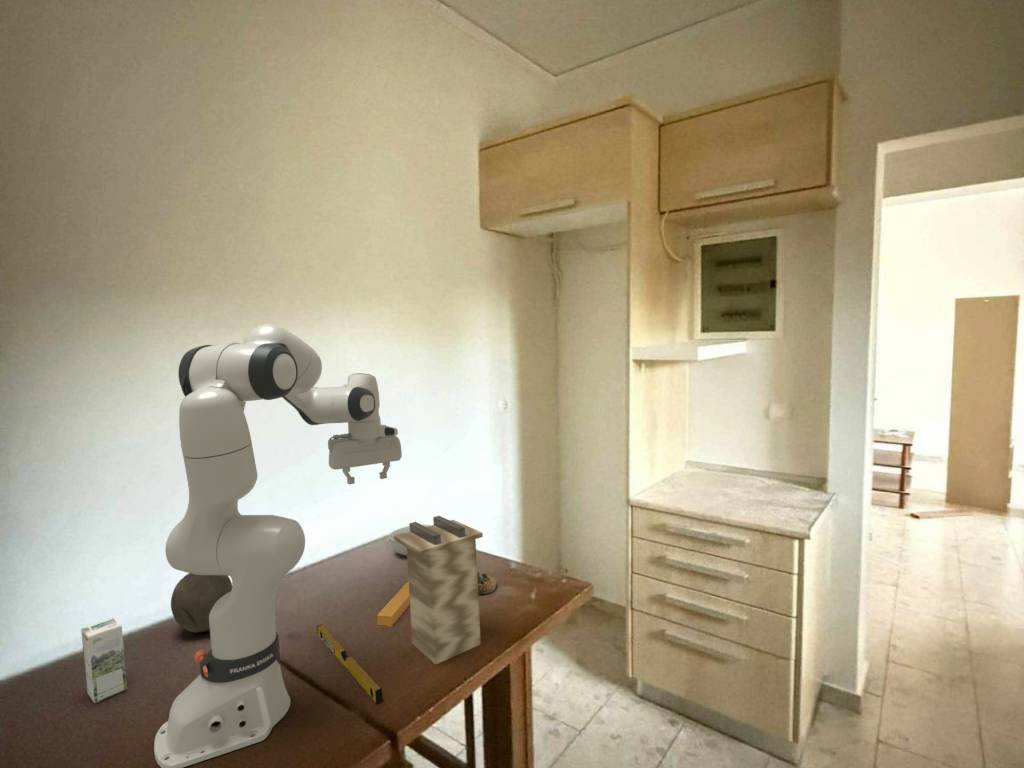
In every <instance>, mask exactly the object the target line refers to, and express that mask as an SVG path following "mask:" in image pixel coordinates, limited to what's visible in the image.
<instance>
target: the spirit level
mask: <svg viewBox="0 0 1024 768" xmlns="http://www.w3.org/2000/svg"><path fill="white" fill-rule="evenodd" d="M316 629H317V630H316V631H317V636H318V635H319V637H320V638H323V639H324V641H325V642H326V643H327V644H328V645H329V646H331V648H332V649H333V650H334V653H335V654H336V656H337V657H338V658H339V659H340V660H341V661H342V663H343V664H344V665H345V666H346V667H347V668H348V670H349V671H350V672H351V673H352V675H353V676H354V677H355V678H356V679H357V681H358V682H359V683H360V684H361V685H362V686H361V685H360V684H359V683H358V682H357V681H356V682H357V683H358V684H359V685H360V686H361V687H363V688H364V689H365V690H366V691H367V692H366V691H365V690H364V689H363V688H362V689H363V690H364V691H365V692H366V693H367V694H369V695H370V696H371V697H372V698H373V699H372V698H371V697H370V696H369V695H368V696H369V697H370V698H371V699H372V701H374V703H375V702H376V703H375V705H378V704H379V703H381V702H380V701H382V702H383V689H382V687H380V686H379V685H378V684H377V683H376V682H375V681H374V680H373V678H372V677H371V676H370V675H369V674H368V673H367V672H366V671H365V670H364V669H363V668H362V667H361V665H360V664H359V663H358V662H357V661H356V660H355V659H354V658H353V657H352V656H351V655H350V656H348V654H347V651H346V649H345V648H344V647H343V646H342V644H341V643H339V642H338V640H337V639H336V638H335V637H334V636H333V635H332V634H331V633H330V632H329V631H328V629H327V628H326V627H324V624H323V623H322V624H318V625H317V626H316ZM319 637H318V638H319ZM320 638H319V639H320ZM336 656H335V657H336ZM342 663H341V664H342ZM348 670H347V671H348ZM349 671H348V672H349ZM352 675H351V676H352ZM353 676H352V677H353ZM354 677H353V678H354ZM355 678H354V679H355ZM378 702H379V703H378Z"/></svg>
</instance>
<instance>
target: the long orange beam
mask: <svg viewBox="0 0 1024 768" xmlns="http://www.w3.org/2000/svg"><path fill="white" fill-rule="evenodd" d="M407 607H408V608H409V607H410V595H409V580H407V582H405V583H404V585H403V586H402V587H401V588H400V589H399V590H398V592H396V594H395V595H394V596H393V597H392V598H391V599H390V600H389V601H388V602H387V603H386V605H385V606H384V607H383V608H382V609H380V611H379V612H378V613H377V615H376V622H377V623H376V625H386V626H385V627H391V626H392V625H393V624H394V623H395V624H396V623H397V622H398V620H399V619H398V618H399V617H401V616H402V615H403V614H404V613H405V611H406V610H407V609H408V608H407ZM403 612H404V613H403ZM395 624H394V625H395ZM394 625H393V626H394ZM393 626H392V627H393Z"/></svg>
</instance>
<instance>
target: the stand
mask: <svg viewBox="0 0 1024 768" xmlns="http://www.w3.org/2000/svg"><path fill="white" fill-rule="evenodd" d="M432 520H433V525H432V526H429V527H425V526H423V525H424V524H421V523H420V522H417V521H413V522H409V525H408V526H410V532H406V533H403V534H399V535H395V536H394V540H395V541H397V542H399V543H400V544H402V545H404V546H405V547H407V556H406V558H407V560H406V561H407V574H408V577H407V578H408V581H409V595H410V605H409V609H410V625H411V641H412V643H411V644H412V645H413V646H414V645H415V646H414V647H416V649H418V651H420V653H422V654H423V655H424V656H425V657H426V658H427V659H429V661H431V662H432V663H433V664H434V665H435V666H436V665H438V664H441V663H444V662H445V661H447V660H449V659H451V658H453V657H456V656H458V655H460V654H463V653H465V652H466V651H469V650H471V649H473V648H475V647H478V646H480V645H481V644H482V641H481V638H482V637H481V623H480V621H481V620H480V603H479V602H480V601H479V595H478V578H477V572H478V563H477V560H478V559H477V544H476V543H477V542H476V540H478V539H480V538H484V535H483V532H481V531H480V530H478V529H475V528H472V527H470V526H468V525H466V524H464V523H461V522H459V521H456V520H455V519H447V518H445V517H443V516H441V515H436V516H433V518H432Z"/></svg>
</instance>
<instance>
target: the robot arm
mask: <svg viewBox="0 0 1024 768" xmlns="http://www.w3.org/2000/svg"><path fill="white" fill-rule="evenodd" d="M322 370H323V365H322V360H321V357H320V355H319V354H318V353H317V351H316V350H314V348H312V347H311V346H310V345H309V344H308V343H306V342H305V341H303V339H301V338H300V337H299V336H297V335H295V334H293V333H292V332H290V331H288V330H286V329H284V328H283V327H281V326H278V325H276V324H273V323H264V324H259V325H258V326H257V325H256V326H254V327H253V328H252V329H250V330H249V332H248V333H247V334H246V335H245V337H244V339H243V342H242V343H240V342H225V343H220V344H214V345H212V344H205V345H200V346H196V347H194V348H192V349H188V350H187V351H186V352H185V353H184V354H183V356H182V358H181V360H180V363H179V365H178V381H179V385H180V388H181V391H182V394H183V395H184V397H183V398H182V399H181V402H180V405H179V411H178V412H179V413H178V414H179V417H178V421H179V422H178V427H179V439H180V447H181V454H182V457H183V462H184V468H185V473H186V481H187V487H188V503H187V509H186V512H185V514H184V516H183V518H182V519H181V520H180V522H178V523H177V524H175V526H174V527H173V528H172V530H171V532H170V533H169V535H168V536H167V539H166V542H165V556H166V560H167V562H168V564H169V565H170V567H171V568H173V569H174V570H177V571H180V572H184V573H187V574H189V573H191V574H196V575H228V577H229V578H230V580H231V583H232V590H231V591H230V592H228V593H227V594H225V595H224V596H222V597H221V598H220V599H219V600H218V601H217V602H216V603H215V604H214V606H213V607H212V609H211V611H210V614H209V626H210V631H209V635H210V636H209V637H210V648H211V649H210V650H209V651H208V652H207V651H206V650H205V649H200V650H197V651H196V652H195V654H194V660H195V661H194V662H195V663H196V665H199V673H200V674H199V675H198V676H196V677H195V679H194V680H193V681H192V682H191V683H190V684H188V686H187V687H186V688H185V689H183V690H182V691H181V692H180V693H179V694H178V695H177V696H176V697H175V699H174V701H173V702H172V703H171V706H170V710H169V714H168V715H169V716H168V719H167V721H165V722H164V723H163V724H162V725H161V726H160V728H159V729H158V731H157V732H156V734H155V737H154V742H153V743H154V745H153V753H154V758H155V761H156V763H157V765H158V766H159V767H160V768H185V767H188V766H191V765H195V764H198V763H201V762H203V761H206V760H207V761H208V760H210V759H212V758H215V757H218V756H221V755H224V754H227V753H231V752H233V751H236V750H239V749H243V748H245V747H248V746H251V745H253V744H257V743H261V742H263V741H264V740H265V739H266V738H268V736H269V735H270V733H271V731H272V730H273V728H274V727H275V725H276V724H277V723H279V722H280V721H281V720H282V719H283V718H284V717H285V715H286V714H287V712H288V711H289V709H290V706H291V697H290V695H289V693H288V690H287V689H286V686H285V683H284V677H283V674H282V669H281V657H282V653H281V652H282V651H281V642H280V641H281V640H280V638H279V637H280V636H279V634H278V633H277V631H276V628H277V627H276V596H277V591H278V588H279V586H280V583H281V582H282V580H283V578H284V577H285V576H286V575H287V574H288V573H289V572H291V571H292V570H293V569H294V568H295V567H296V565H298V563H299V562H300V560H301V559H302V557H303V555H304V552H305V547H306V537H305V533H304V530H303V527H302V526H301V524H300V523H299V522H298V521H297V520H296V519H293V518H288V517H285V516H279V515H274V514H241V513H240V511H239V509H238V506H239V505H238V504H239V500H240V499H242V498H244V497H245V496H247V495H248V494H250V492H251V491H252V490H253V489H254V487H255V485H256V483H257V480H258V469H257V464H256V459H255V453H254V448H253V442H252V437H251V432H250V428H249V425H248V420H247V418H246V414H245V406H246V403H247V402H251V401H259V400H264V401H271V400H272V401H273V400H276V399H280V398H283V400H285V401H286V402H287V403H288V404H289V405H290V406H292V407H293V408H294V409H295V410H296V411H297V412H298V415H299V416H300V417H301V419H302V420H303V421H304V422H305V423H306V424H307V425H310V426H319V425H325V424H343V423H346V424H347V428H348V429H347V430H348V432H347V433H342V434H334V435H333V436H331V437H330V438H329V439H328V440H327V446H328V447H327V448H328V451H329V454H328V466H329V467H330V468H331V470H335V471H336V470H342V473H343V474H344V476H345V477H346V483H347V485H353V484H356V483H355V482H356V481H355V477H354V476H351V474H350V472H351V468H357V467H363V466H370V465H378V464H382V466H383V468H382V471H379V479H381V480H384V479H385V480H386V479H388V471H389V469H390V467H391V462H398V461H400V460H401V458H402V456H403V454H402V444H401V440H400V438H399V437H398V436H397V435H398V434H399V430H398V429H397V428H396V427H393V426H388V425H386V424H381V416H380V414H379V413H380V412H379V410H380V406H381V405H380V391H379V385H378V382H377V378H376V377H375V376H374V375H373V374H370V373H352V374H349V375H348V377H347V380H346V381H347V382H346V383H345V384H343V385H342V386H329V387H315V385H316V384H317V383H318V382H319V379H320V378H321V377H322V376H321V375H322V372H323V371H322Z"/></svg>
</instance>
